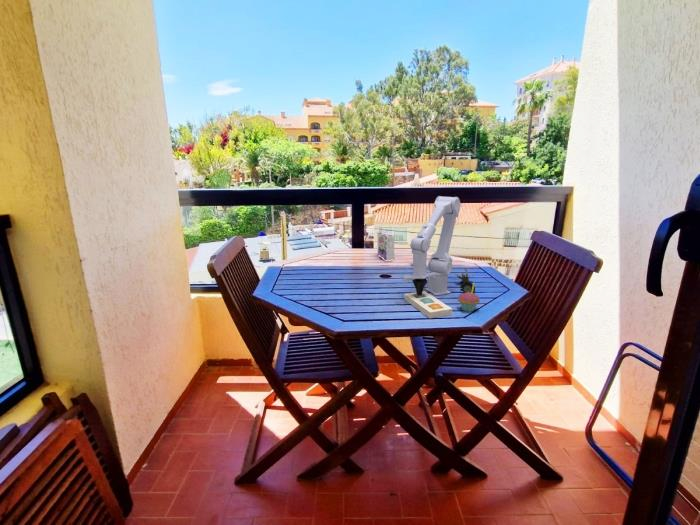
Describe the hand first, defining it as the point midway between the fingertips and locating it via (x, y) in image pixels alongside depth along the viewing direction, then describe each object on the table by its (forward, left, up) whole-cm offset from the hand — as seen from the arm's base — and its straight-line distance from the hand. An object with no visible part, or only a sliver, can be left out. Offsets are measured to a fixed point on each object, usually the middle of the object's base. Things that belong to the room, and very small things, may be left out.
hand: (419, 294), depth 171 cm
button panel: (+7, 0, -3) cm, 8 cm away
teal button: (+7, 0, -3) cm, 7 cm away
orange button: (+14, 0, -2) cm, 14 cm away
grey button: (0, 0, -3) cm, 3 cm away
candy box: (-73, +15, -3) cm, 75 cm away
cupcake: (+16, +14, -3) cm, 22 cm away
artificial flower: (-7, +28, -3) cm, 29 cm away
